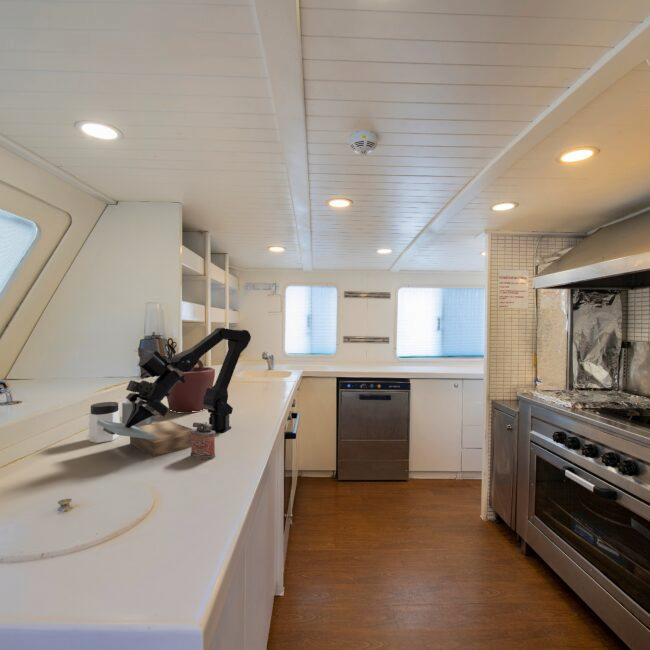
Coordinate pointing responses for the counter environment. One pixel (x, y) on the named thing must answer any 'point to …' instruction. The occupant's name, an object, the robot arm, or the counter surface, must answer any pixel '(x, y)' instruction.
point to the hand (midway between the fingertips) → (126, 427)
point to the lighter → (202, 441)
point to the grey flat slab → (124, 430)
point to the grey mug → (127, 411)
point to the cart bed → (163, 438)
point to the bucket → (191, 389)
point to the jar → (104, 413)
